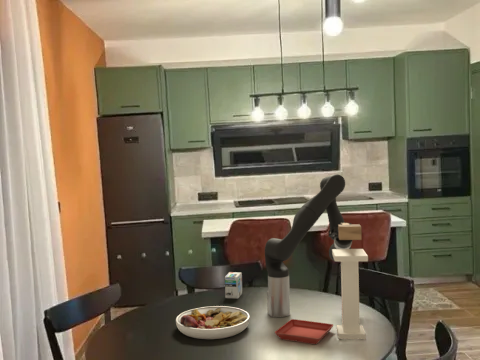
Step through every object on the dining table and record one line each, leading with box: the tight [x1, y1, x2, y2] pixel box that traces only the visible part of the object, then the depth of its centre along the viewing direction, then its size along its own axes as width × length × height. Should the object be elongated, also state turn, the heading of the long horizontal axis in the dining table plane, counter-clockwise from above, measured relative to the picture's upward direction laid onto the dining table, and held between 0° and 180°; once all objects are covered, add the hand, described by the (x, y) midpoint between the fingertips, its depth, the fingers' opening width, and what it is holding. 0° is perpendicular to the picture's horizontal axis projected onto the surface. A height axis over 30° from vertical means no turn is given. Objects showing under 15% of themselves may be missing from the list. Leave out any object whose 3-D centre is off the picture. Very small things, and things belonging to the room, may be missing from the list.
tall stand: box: [332, 248, 369, 340], centre depth 199 cm, size 14×12×32 cm
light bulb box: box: [224, 271, 243, 299], centre depth 259 cm, size 11×7×11 cm, turn 168°
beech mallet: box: [338, 222, 362, 241], centre depth 204 cm, size 23×8×5 cm, turn 174°
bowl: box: [175, 305, 251, 340], centre depth 212 cm, size 30×30×8 cm
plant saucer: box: [274, 318, 334, 345], centre depth 201 cm, size 18×18×3 cm
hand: (346, 225), depth 208 cm, fingers closed on beech mallet, 3 cm apart
